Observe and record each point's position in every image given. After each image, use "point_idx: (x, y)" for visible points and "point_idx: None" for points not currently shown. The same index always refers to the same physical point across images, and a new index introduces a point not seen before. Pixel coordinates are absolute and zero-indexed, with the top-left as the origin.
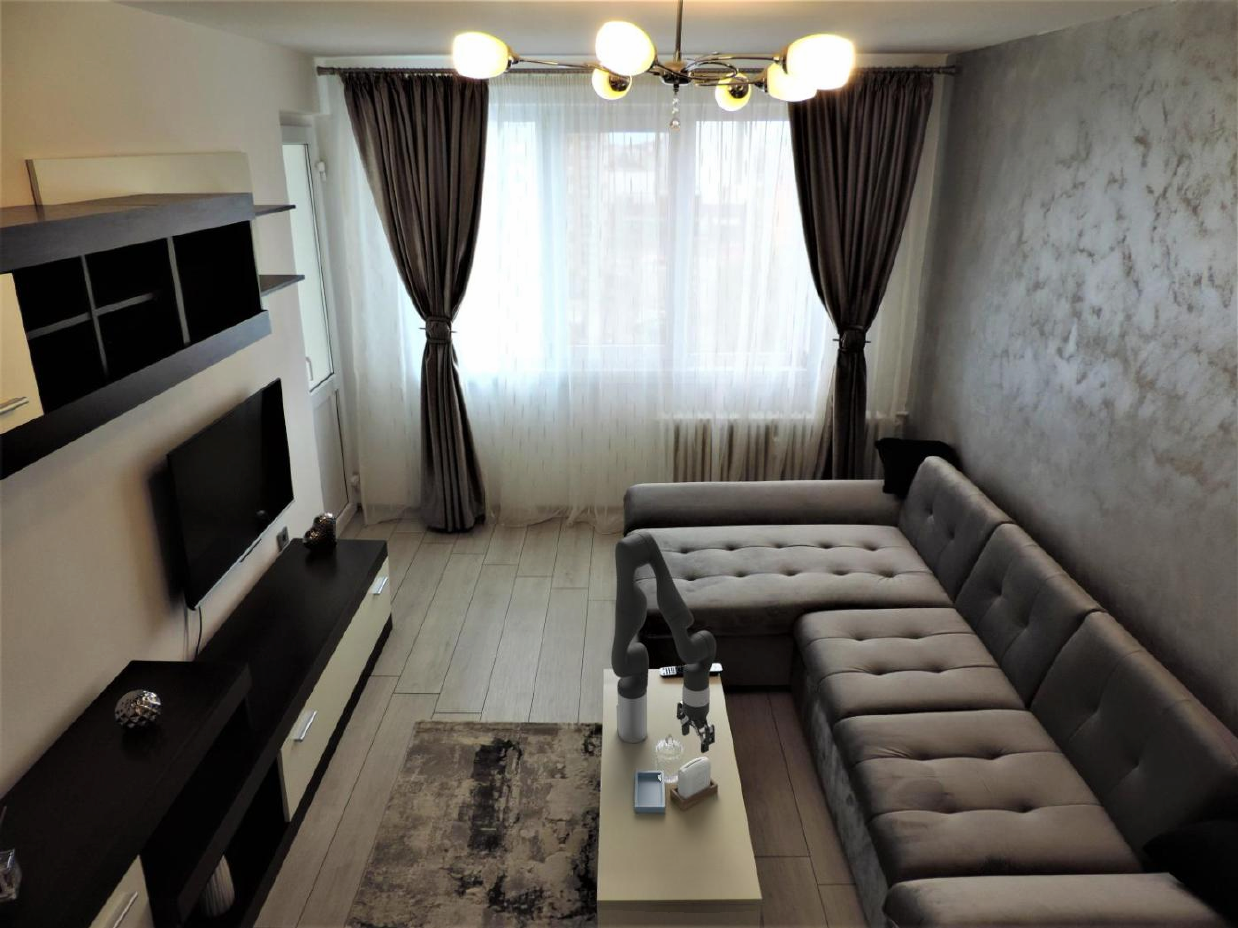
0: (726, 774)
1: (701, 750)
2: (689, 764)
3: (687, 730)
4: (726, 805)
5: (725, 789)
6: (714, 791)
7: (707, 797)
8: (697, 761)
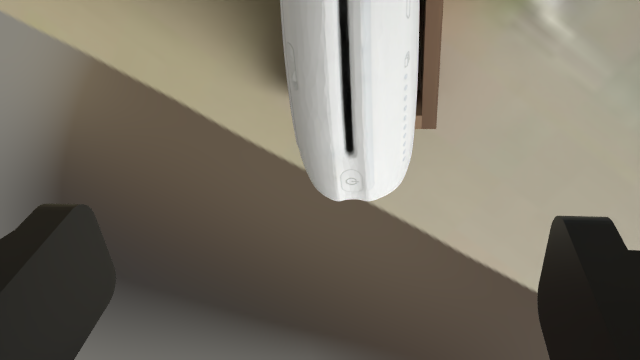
0: (385, 204)
1: (32, 227)
2: (351, 27)
3: (560, 340)
4: (215, 85)
5: None
6: None
7: None
8: (351, 115)
